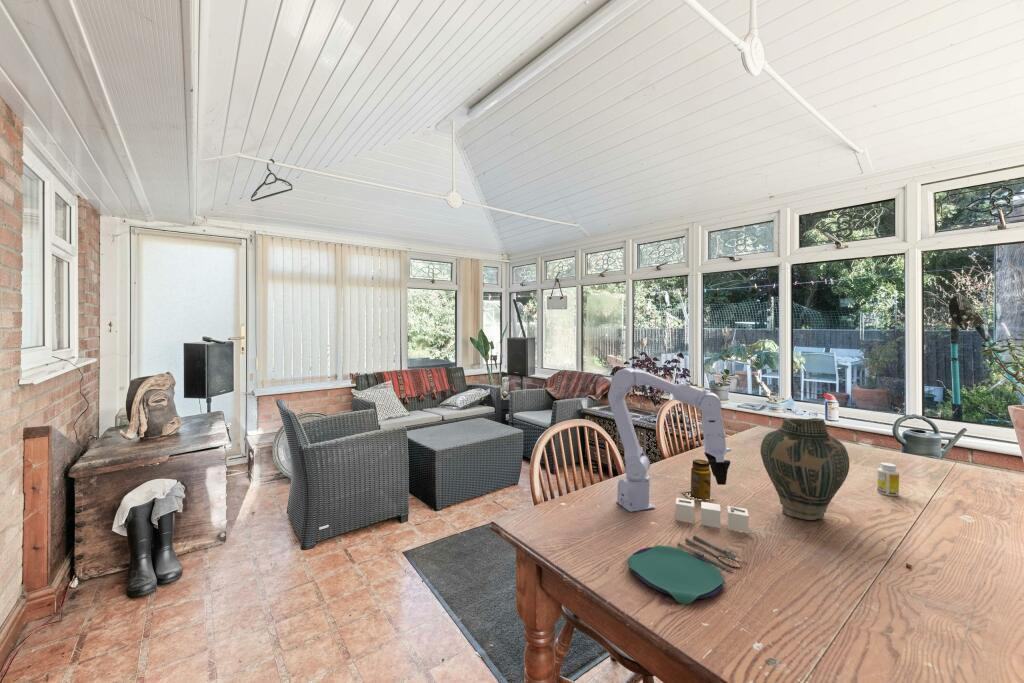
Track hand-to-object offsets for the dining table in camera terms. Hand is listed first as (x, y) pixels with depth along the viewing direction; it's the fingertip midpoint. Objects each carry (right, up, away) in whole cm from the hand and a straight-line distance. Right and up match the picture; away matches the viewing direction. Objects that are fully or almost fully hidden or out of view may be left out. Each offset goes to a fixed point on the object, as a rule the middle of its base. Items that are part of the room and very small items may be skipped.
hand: (719, 480), depth 122 cm
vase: (+27, -12, +5) cm, 30 cm away
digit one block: (-10, -12, +2) cm, 15 cm away
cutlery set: (-20, -13, -25) cm, 34 cm away
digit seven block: (+3, -12, -4) cm, 13 cm away
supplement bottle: (+69, -12, +21) cm, 73 cm away
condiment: (+2, -12, +18) cm, 22 cm away
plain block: (-3, -12, -1) cm, 13 cm away
